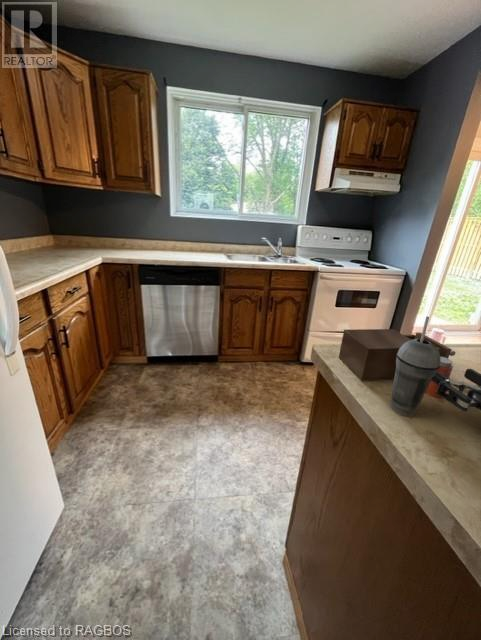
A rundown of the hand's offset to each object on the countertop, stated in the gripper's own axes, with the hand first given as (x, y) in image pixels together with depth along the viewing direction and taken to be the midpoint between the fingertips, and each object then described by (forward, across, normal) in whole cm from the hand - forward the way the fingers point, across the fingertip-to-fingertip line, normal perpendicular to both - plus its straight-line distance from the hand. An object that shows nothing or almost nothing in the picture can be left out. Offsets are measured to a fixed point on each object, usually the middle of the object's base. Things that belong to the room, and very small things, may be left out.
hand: (449, 373), depth 58 cm
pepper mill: (+2, 0, +6) cm, 7 cm away
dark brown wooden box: (+14, +7, +6) cm, 17 cm away
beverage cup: (-3, +12, +7) cm, 14 cm away
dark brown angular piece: (+14, -4, +6) cm, 15 cm away
